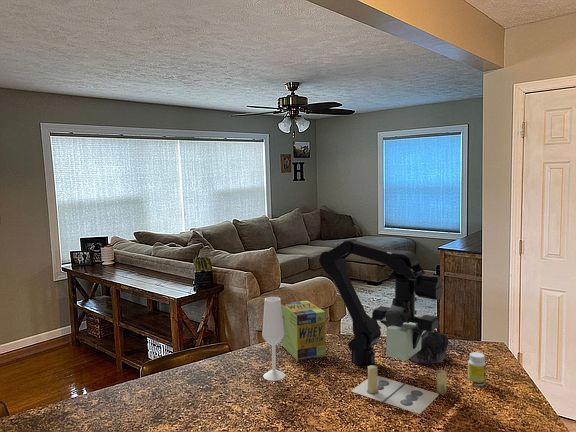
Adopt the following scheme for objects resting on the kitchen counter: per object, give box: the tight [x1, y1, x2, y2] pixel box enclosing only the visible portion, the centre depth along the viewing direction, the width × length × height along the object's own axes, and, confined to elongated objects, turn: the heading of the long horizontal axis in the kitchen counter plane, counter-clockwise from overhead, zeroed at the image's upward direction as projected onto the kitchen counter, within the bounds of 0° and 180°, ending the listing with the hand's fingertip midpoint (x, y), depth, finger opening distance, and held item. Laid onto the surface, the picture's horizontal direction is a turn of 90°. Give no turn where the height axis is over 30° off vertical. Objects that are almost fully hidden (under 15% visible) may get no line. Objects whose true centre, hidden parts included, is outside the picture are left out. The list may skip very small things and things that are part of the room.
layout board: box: [350, 365, 440, 415], centre depth 126 cm, size 20×13×8 cm, turn 51°
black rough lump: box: [409, 329, 450, 365], centre depth 153 cm, size 13×14×10 cm
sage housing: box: [385, 322, 421, 362], centre depth 137 cm, size 6×11×8 cm, turn 141°
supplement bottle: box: [467, 351, 487, 387], centre depth 134 cm, size 5×5×8 cm
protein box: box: [281, 300, 326, 362], centre depth 160 cm, size 10×15×16 cm
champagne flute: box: [261, 296, 286, 382], centre depth 140 cm, size 7×7×24 cm
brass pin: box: [436, 369, 448, 395], centre depth 126 cm, size 3×3×7 cm
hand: (404, 345), depth 137 cm, fingers closed on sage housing, 6 cm apart
